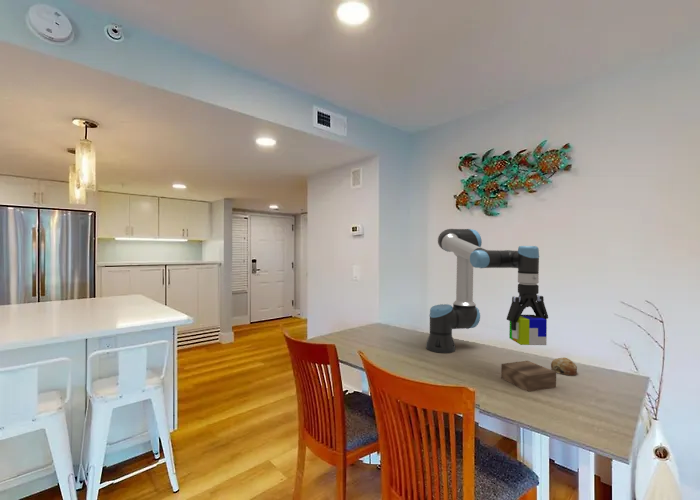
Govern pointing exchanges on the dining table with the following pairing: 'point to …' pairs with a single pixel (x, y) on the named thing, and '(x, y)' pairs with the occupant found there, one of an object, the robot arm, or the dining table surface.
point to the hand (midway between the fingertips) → (527, 337)
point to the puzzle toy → (531, 330)
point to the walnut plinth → (528, 375)
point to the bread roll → (564, 366)
